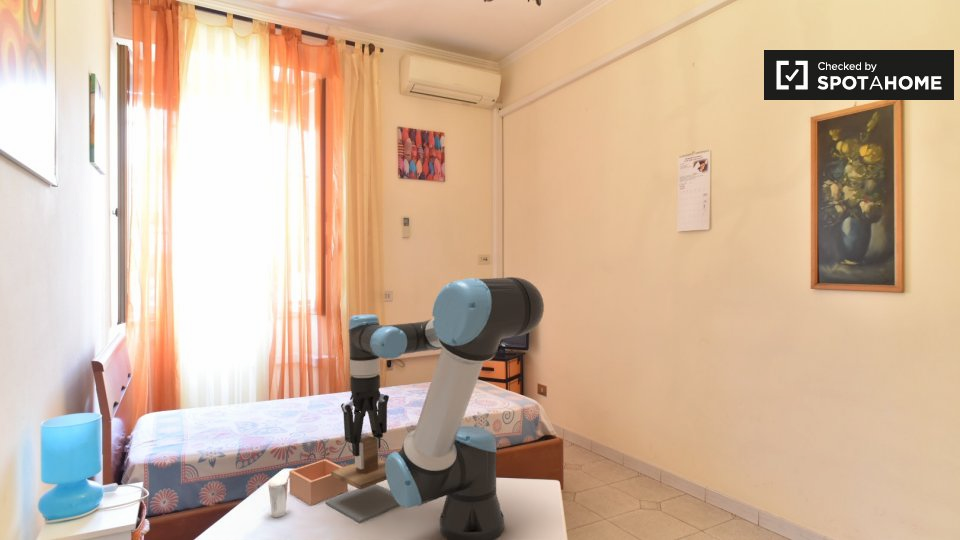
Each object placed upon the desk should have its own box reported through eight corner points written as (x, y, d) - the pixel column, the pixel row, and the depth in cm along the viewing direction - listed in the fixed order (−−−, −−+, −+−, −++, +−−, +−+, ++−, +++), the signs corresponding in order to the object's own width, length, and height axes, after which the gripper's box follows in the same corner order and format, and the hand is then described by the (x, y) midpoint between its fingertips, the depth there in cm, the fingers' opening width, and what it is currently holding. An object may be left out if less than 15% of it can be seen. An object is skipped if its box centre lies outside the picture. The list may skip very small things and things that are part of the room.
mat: (407, 501, 136) (407, 499, 136) (359, 523, 125) (359, 520, 125) (373, 484, 146) (373, 482, 146) (325, 503, 135) (325, 501, 135)
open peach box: (347, 491, 143) (347, 469, 142) (310, 505, 134) (310, 482, 134) (325, 479, 150) (325, 459, 150) (289, 492, 142) (289, 470, 142)
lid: (402, 473, 136) (402, 437, 136) (360, 489, 126) (360, 451, 126) (372, 461, 144) (372, 428, 144) (331, 475, 135) (330, 440, 135)
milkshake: (285, 519, 127) (284, 479, 127) (265, 518, 128) (264, 477, 128) (294, 510, 132) (294, 471, 131) (275, 509, 133) (274, 470, 132)
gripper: (382, 367, 144) (384, 452, 144) (327, 378, 131) (329, 471, 131) (400, 371, 139) (402, 458, 139) (344, 382, 126) (346, 479, 126)
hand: (367, 464), depth 135 cm, fingers closed on lid, 4 cm apart
